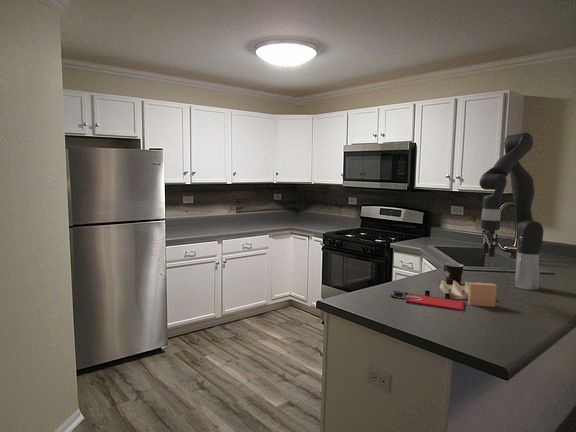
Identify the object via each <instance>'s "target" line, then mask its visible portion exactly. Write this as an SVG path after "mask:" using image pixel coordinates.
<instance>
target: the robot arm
mask: <svg viewBox="0 0 576 432" xmlns="http://www.w3.org/2000/svg"><path fill="white" fill-rule="evenodd" d="M503 144H504V145H503V146H504V152H505V154H504V155H503V156H501V157H500V158H499V159H498V160H497V161H496V162H495V164H494V165H493V167H491V168H490V169H488V170H487V171H486V172H484V173H483V174H482V175H481V176H480V179H479V181H478V182H479V187H480V188H481V189H483V190H490V191H493V190H494V192H493V193H492V194H488V195H484V196H483V197H482V198H483V199H482V211H481V217H480V218H481V220H480V229H481V230H482V232H481V233H482V236H481V243H482V247H483V248H482V252H483V254H488V257H490V258H491V257H492V258H494V257H495V253H496V252H495V250H496V248H498V233H496V231H500V227H501V201H502V198H503V194H504V192H505V190H506V187H507V182H508V179H507V177H508V176H509V174H510V184H511V193H512V198H513V205H514V212H515V231H516V233H517V234H518V236H519V237H521V244H520V245H518V246H517V247H516V248H517V249H516V250H517V251H516V263H515V265H516V266H515V277H514V278H515V280H514V287H516V288H519V289H522V290H539V288H540V287H539V285H540V276H541V275H540V271H541V270H540V269H539V262H540V261H539V259H540V258H539V257H540V251H541V249H542V246H543V239H544V227H543V225H542V223H541V222H539V221H535V220H534V219H533V213H532V205H533V201H534V197H535V185H534V179H533V177H532V175H531V174H530V173H529V172H528V171H527V170H526V169H525V167H524V166H523V165H522V163H520V160H521V159H523V157H524V156H526V155H527V154H528V153H529V152H530V151H531V150H532V149H533V145H534V138H533V136H532V134H531V133H529V132H520V133H519V132H518V133H515V134H509V135H507V136H505V138H504V143H503Z"/></svg>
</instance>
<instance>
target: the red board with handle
mask: <svg viewBox="0 0 576 432" xmlns="http://www.w3.org/2000/svg"><path fill="white" fill-rule="evenodd" d="M430 292H431V291H430V290H426V289H425V291H424V295H423V294H422V295H421V294H417V293H415V294H414V293H408V292H406V291H405V292H404V291H398V290H397V291H396V290H393V292H392V293H391V294H390V297H395V298H399V299H405V300H406V301H405V303H406V304H409V303H412V304H411V305H416V304H418V305H417V306H423V305H425V307H430V306H431V307H433V308H437V307H438V309H439V308H440V309H444V310H445V309H446V310H453V311H460V312H464V310H465V301H463V300H459V299H450V294H449V293H445V294H444V297H437V296H431V295H430V294H431V293H430ZM408 294H409V295H408ZM431 307H430V308H431Z"/></svg>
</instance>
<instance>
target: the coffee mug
mask: <svg viewBox="0 0 576 432" xmlns="http://www.w3.org/2000/svg"><path fill="white" fill-rule="evenodd" d="M464 266H465V265H464V264H462V263H457V262H446V263H444V265H443V271H444V272H445V283H446V284H447V285H453V281H456V282H457V283H458V284H459V285H460V286H461V282H462V277H463V273H464Z"/></svg>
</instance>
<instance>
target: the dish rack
mask: <svg viewBox="0 0 576 432" xmlns="http://www.w3.org/2000/svg"><path fill="white" fill-rule="evenodd" d="M476 283H481V282H480V281H477V282H476ZM439 289H440V290H441V291H442V293H444V295H445V293H449V294H450V299H451V300H467V301H468V292H469V281H468V280H467V281H466V280H465V281H464V285H461V284H460V285H459V284H458V283H457V282H456V281H453V285H448V284H446V280H443V279H441V281H440V284H439Z"/></svg>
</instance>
